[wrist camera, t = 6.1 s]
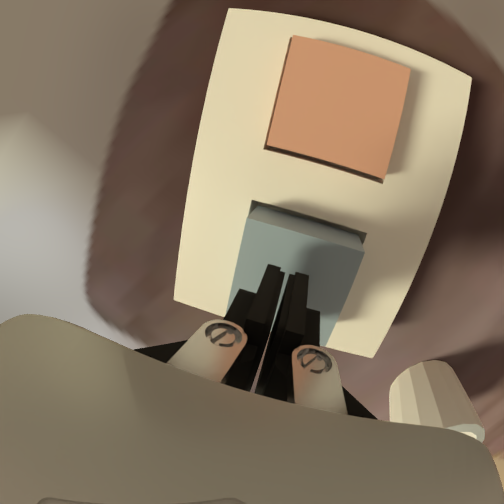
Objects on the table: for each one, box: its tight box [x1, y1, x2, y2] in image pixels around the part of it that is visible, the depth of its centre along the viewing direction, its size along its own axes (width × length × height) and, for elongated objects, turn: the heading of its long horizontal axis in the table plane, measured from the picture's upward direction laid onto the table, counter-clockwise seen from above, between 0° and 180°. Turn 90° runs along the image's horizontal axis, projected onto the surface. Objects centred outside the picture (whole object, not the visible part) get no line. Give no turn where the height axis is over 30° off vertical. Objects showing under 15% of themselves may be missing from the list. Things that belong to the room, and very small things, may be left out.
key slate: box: [225, 206, 365, 346], centre depth 14 cm, size 5×5×2 cm
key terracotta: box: [267, 35, 411, 179], centre depth 12 cm, size 5×5×2 cm
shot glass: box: [389, 360, 485, 443], centre depth 16 cm, size 7×7×7 cm
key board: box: [174, 8, 472, 358], centre depth 15 cm, size 12×16×3 cm
